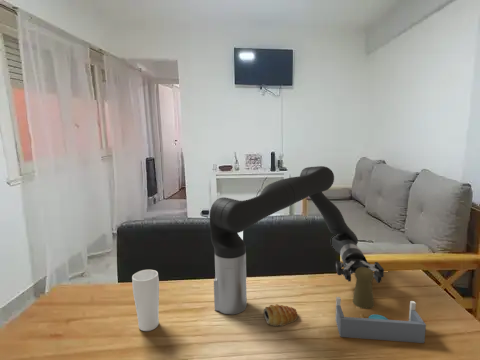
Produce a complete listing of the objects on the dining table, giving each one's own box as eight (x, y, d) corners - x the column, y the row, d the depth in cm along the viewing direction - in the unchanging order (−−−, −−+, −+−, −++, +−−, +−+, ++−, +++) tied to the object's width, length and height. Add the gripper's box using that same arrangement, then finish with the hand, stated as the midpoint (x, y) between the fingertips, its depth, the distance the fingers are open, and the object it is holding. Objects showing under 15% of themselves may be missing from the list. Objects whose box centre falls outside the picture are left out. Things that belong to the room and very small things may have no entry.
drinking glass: (138, 337, 78) (133, 283, 76) (134, 323, 84) (130, 272, 82) (164, 329, 81) (160, 277, 79) (158, 315, 87) (155, 267, 85)
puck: (373, 336, 77) (373, 326, 76) (365, 324, 82) (365, 314, 81) (392, 336, 77) (393, 325, 76) (383, 324, 82) (383, 314, 81)
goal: (340, 336, 77) (341, 311, 76) (335, 320, 84) (336, 296, 83) (424, 343, 74) (426, 317, 73) (412, 325, 81) (414, 301, 80)
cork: (376, 309, 88) (377, 274, 86) (354, 307, 89) (355, 273, 87) (371, 297, 94) (372, 265, 92) (351, 296, 95) (352, 264, 93)
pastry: (292, 310, 89) (292, 298, 89) (301, 324, 83) (302, 311, 82) (261, 314, 87) (261, 302, 87) (269, 329, 81) (269, 316, 80)
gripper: (332, 246, 108) (340, 267, 92) (374, 248, 106) (389, 269, 90) (331, 266, 109) (339, 289, 94) (373, 268, 107) (388, 292, 92)
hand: (364, 279), depth 92 cm, fingers open, 8 cm apart
